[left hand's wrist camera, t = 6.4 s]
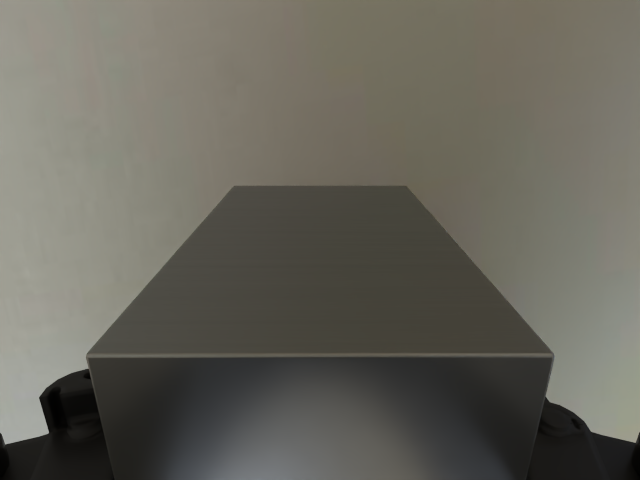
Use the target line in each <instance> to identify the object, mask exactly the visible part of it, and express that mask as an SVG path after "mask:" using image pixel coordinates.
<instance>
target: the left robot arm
mask: <svg viewBox="0 0 640 480" xmlns="http://www.w3.org/2000/svg"><path fill="white" fill-rule="evenodd" d="M39 399H40V402H41V406H42V409H43V413H44V416H45V419H46V423H47V426H48V430H49V434H47V435H43V436H40V437H36V438H32V439H27V440H23V441H19V442H15V443H10V444H6V445H5V443H4V440H3V437H2V434H1V433H0V480H115V479H114V475H113V470H112V466H111V462H110V458H109V453H108V449H107V445H106V440H105V436H104V432H103V428H102V423H101V419H100V415H99V410H98V406H97V402H96V397H95V393H94V389H93V385H92V380H91V376H90V372H89V369H85V370H82V371H78V372H74V373H71V374H69V375H67V376H65V377H62V378H60V379H58V380H57V381H55V382H54V383H53V384H51V385H50V386H49V387H47V388H46V389H45V391H44V392H43V393H42V394H41V396H40V397H39ZM526 480H640V433H639V435H638V438H637V441H636V443H633V442H629V441H625V440H620V439H616V438H612V437H607V436H603V435H600V434H596V433H593V432H591V431H590V430H589V428H588V427H587V425H586V424H585V422H584V421H583V420H582V419H580V418H579V417H578V416H577V415H576V414H575V413H573V412H571V411H570V410H568V409H566V408H564V407H562V406H560V405H557V404H554V403H550V402H549V401H548V399H547V398H546V397H545V400H544V404H543V409H542V413H541V417H540V421H539V426H538V430H537V434H536V439H535V443H534V447H533V451H532V456H531V460H530V464H529V468H528V473H527V477H526Z"/></svg>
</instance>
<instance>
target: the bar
mask: <svg viewBox="0 0 640 480" xmlns="http://www.w3.org/2000/svg"><path fill="white" fill-rule="evenodd" d="M86 359H87V363H88V367H89V372H90V376H91V380H92V385H93V389H94V393H95V397H96V402H97V406H98V410H99V415H100V419H101V423H102V428H103V432H104V436H105V440H106V445H107V449H108V453H109V458H110V462H111V466H112V470H113V475H114V479H115V480H526V477H527V473H528V468H529V464H530V460H531V456H532V451H533V447H534V443H535V439H536V434H537V430H538V426H539V421H540V417H541V413H542V409H543V404H544V400H545V396H546V391H547V387H548V383H549V379H550V374H551V370H552V366H553V361H554V354H553V352H552V351H551V350H550V349H549V348H548V347H547V345H546V344H545V343H544V342H543V341H542V340H541V339H540V337H539V336H538V335H537V334H536V333H535V332H534V331H533V329H532V328H531V327H530V326H529V325H528V324H527V323H526V322H525V320H524V319H523V318H522V317H521V316H520V315H519V314H518V312H517V311H516V310H515V309H514V308H513V307H512V306H511V305H510V303H509V302H508V301H507V300H506V299H505V298H504V297H503V295H502V294H501V293H500V292H499V291H498V290H497V289H496V287H495V286H494V285H493V284H492V283H491V282H490V281H489V280H488V278H487V277H486V276H485V275H484V274H483V273H482V272H481V270H480V269H479V268H478V267H477V266H476V265H475V264H474V262H473V261H472V260H471V259H470V258H469V257H468V256H467V255H466V253H465V252H464V251H463V250H462V249H461V248H460V247H459V245H458V244H457V243H456V242H455V241H454V240H453V239H452V237H451V236H450V235H449V234H448V233H447V232H446V231H445V230H444V228H443V227H442V226H441V225H440V224H439V223H438V222H437V220H436V219H435V218H434V217H433V216H432V215H431V214H430V212H429V211H428V210H427V209H426V208H425V207H424V206H423V205H422V203H421V202H420V201H419V200H418V199H417V198H416V197H415V195H414V194H413V193H412V192H411V191H410V190H409V189H408V187H407V186H234V187H233V188H232V189H231V190H230V191H229V192H228V193H227V195H226V196H225V197H224V198H223V199H222V200H221V201H220V203H219V204H218V205H217V206H216V207H215V208H214V209H213V211H212V212H211V213H210V214H209V215H208V216H207V217H206V219H205V220H204V221H203V222H202V223H201V224H200V225H199V226H198V228H197V229H196V230H195V231H194V232H193V233H192V234H191V236H190V237H189V238H188V239H187V240H186V241H185V242H184V244H183V245H182V246H181V247H180V248H179V249H178V250H177V252H176V253H175V254H174V255H173V256H172V257H171V258H170V260H169V261H168V262H167V263H166V264H165V265H164V266H163V267H162V269H161V270H160V271H159V272H158V273H157V274H156V275H155V277H154V278H153V279H152V280H151V281H150V282H149V283H148V285H147V286H146V287H145V288H144V289H143V290H142V291H141V293H140V294H139V295H138V296H137V297H136V298H135V299H134V300H133V302H132V303H131V304H130V305H129V306H128V307H127V308H126V310H125V311H124V312H123V313H122V314H121V315H120V316H119V318H118V319H117V320H116V321H115V322H114V323H113V324H112V326H111V327H110V328H109V329H108V330H107V331H106V332H105V333H104V335H103V336H102V337H101V338H100V339H99V340H98V341H97V343H96V344H95V345H94V346H93V347H92V348H91V349H90V351H89V352H88V353H87V356H86Z"/></svg>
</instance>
